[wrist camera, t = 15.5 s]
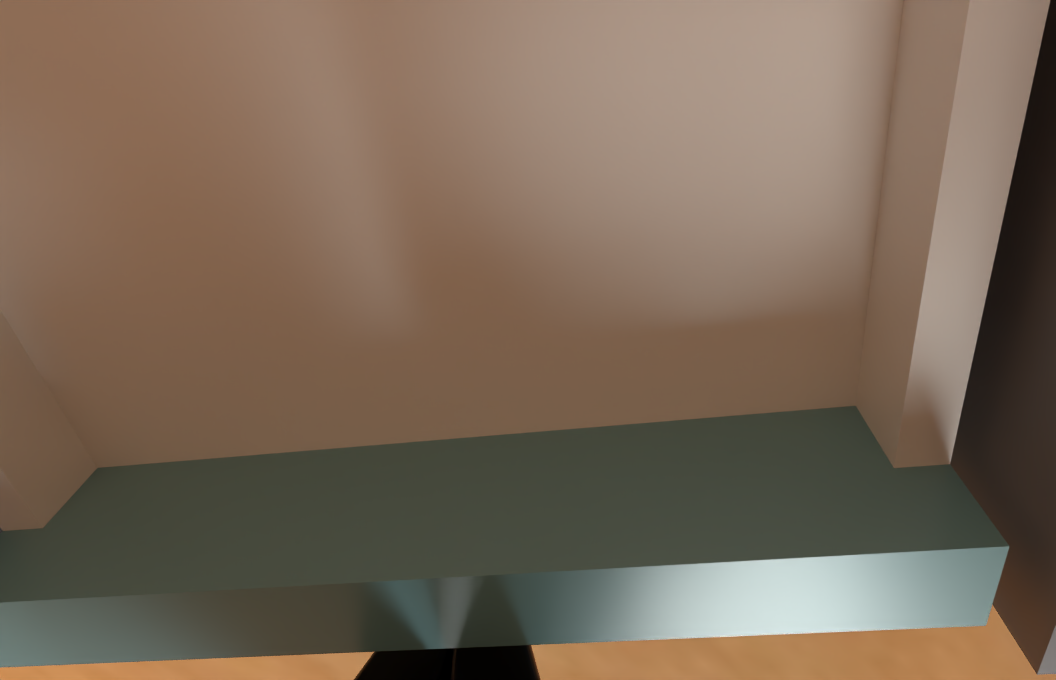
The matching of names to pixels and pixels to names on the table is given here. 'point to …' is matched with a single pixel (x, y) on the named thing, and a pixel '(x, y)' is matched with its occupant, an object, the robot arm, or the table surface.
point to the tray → (493, 319)
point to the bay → (1021, 382)
